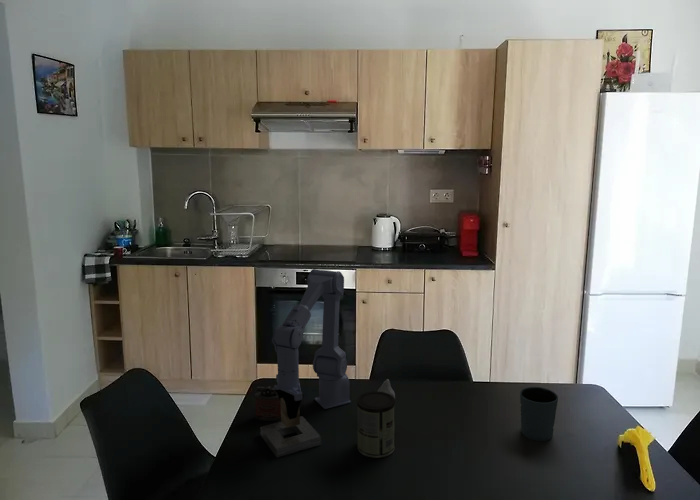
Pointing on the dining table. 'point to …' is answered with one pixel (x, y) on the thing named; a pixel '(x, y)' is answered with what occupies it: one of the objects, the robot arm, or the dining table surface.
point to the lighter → (267, 404)
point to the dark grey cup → (538, 412)
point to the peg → (285, 418)
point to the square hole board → (286, 446)
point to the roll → (386, 388)
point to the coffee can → (376, 424)
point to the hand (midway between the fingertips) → (289, 414)
